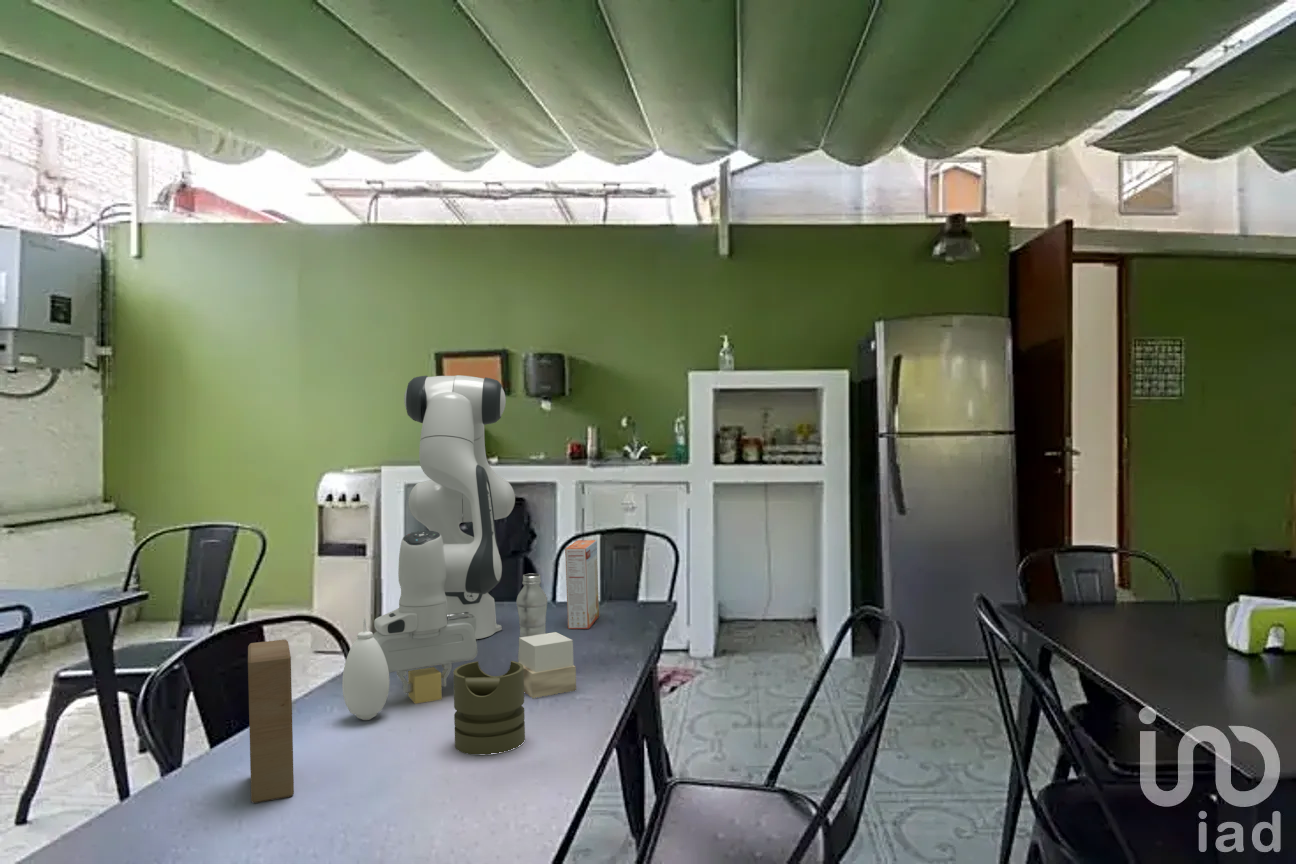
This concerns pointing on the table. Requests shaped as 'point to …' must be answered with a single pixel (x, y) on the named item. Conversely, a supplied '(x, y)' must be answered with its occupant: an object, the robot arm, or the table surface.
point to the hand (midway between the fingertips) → (424, 689)
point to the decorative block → (270, 720)
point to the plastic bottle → (531, 607)
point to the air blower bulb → (365, 677)
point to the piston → (488, 709)
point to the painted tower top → (545, 651)
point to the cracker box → (582, 584)
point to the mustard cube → (425, 685)
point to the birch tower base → (549, 681)
